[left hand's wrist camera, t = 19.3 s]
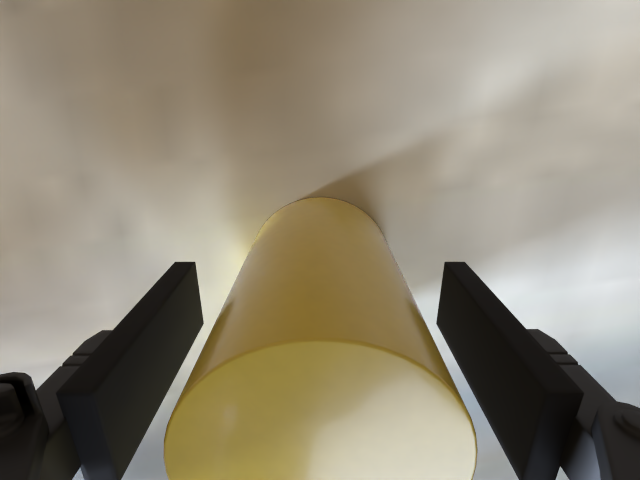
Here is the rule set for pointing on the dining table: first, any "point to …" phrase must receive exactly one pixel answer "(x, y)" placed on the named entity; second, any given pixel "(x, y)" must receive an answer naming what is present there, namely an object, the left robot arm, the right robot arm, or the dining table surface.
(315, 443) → the can
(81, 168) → the dining table surface
